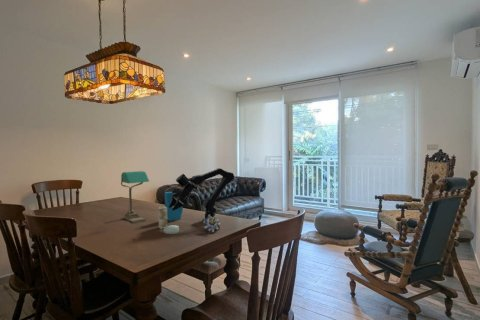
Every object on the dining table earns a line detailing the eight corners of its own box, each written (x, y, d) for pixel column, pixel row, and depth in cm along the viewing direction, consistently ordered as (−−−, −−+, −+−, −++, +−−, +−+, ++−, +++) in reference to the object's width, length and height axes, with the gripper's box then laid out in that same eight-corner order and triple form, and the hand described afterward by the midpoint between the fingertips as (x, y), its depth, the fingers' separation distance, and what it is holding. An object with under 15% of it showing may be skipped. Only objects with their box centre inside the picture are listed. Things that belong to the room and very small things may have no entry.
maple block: (165, 226, 179) (165, 206, 178) (167, 227, 175) (167, 207, 174) (158, 227, 177) (158, 207, 176) (160, 228, 173) (159, 208, 172)
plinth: (181, 230, 170) (181, 225, 170) (174, 234, 161) (174, 229, 161) (168, 229, 172) (168, 224, 172) (161, 233, 163) (160, 228, 163)
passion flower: (213, 240, 165) (204, 228, 159) (203, 233, 173) (195, 221, 167) (226, 228, 169) (218, 215, 163) (216, 221, 178) (209, 209, 171)
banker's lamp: (139, 215, 210) (138, 170, 208) (151, 220, 194) (150, 171, 193) (118, 218, 199) (117, 171, 197) (129, 224, 184) (127, 173, 182)
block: (167, 221, 191) (166, 193, 190) (165, 219, 195) (164, 192, 194) (183, 218, 197) (182, 191, 196) (180, 217, 201) (180, 190, 200)
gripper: (174, 181, 188) (158, 198, 183) (182, 184, 171) (165, 203, 167) (185, 191, 192) (170, 209, 187) (194, 195, 176) (177, 214, 171)
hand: (170, 208), depth 178 cm, fingers open, 9 cm apart
